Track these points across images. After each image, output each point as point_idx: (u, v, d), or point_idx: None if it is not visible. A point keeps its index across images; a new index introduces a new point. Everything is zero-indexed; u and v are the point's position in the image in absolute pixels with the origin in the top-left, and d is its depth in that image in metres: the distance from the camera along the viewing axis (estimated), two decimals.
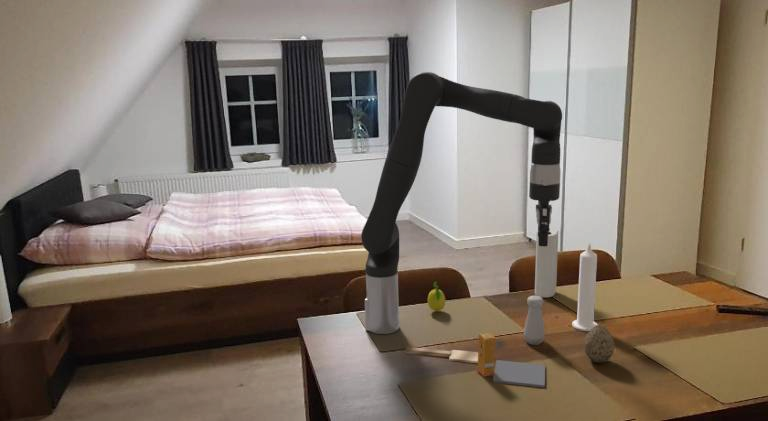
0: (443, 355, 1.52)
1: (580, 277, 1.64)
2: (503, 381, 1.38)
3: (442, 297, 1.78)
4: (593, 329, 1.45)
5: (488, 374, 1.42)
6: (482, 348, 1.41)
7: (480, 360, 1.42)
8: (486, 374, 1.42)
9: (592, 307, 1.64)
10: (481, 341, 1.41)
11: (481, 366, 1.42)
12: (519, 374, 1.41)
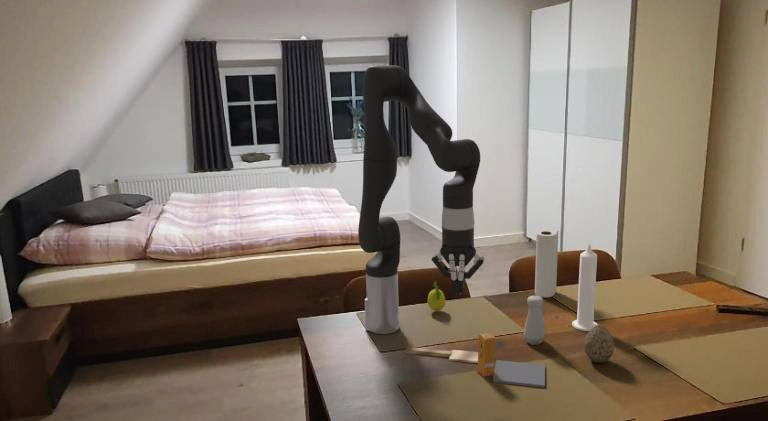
0: (443, 355, 1.52)
1: (580, 277, 1.64)
2: (503, 381, 1.38)
3: (442, 297, 1.78)
4: (593, 329, 1.45)
5: (488, 374, 1.42)
6: (482, 348, 1.41)
7: (480, 360, 1.42)
8: (486, 374, 1.42)
9: (592, 307, 1.64)
10: (481, 341, 1.41)
11: (481, 366, 1.42)
12: (519, 374, 1.41)
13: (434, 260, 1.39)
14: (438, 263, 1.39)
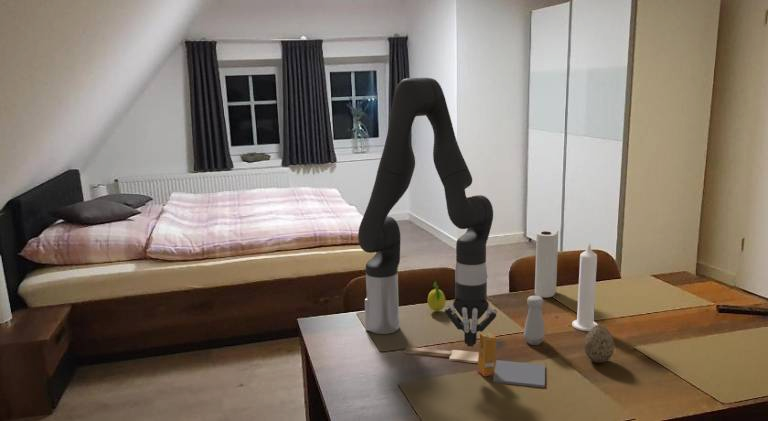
0: (443, 355, 1.52)
1: (580, 277, 1.64)
2: (503, 381, 1.38)
3: (442, 297, 1.78)
4: (593, 329, 1.45)
5: (488, 374, 1.42)
6: (483, 347, 1.41)
7: (480, 360, 1.42)
8: (486, 374, 1.42)
9: (592, 307, 1.64)
10: (482, 341, 1.41)
11: (481, 366, 1.42)
12: (519, 374, 1.41)
13: (447, 313, 1.41)
14: (451, 316, 1.41)
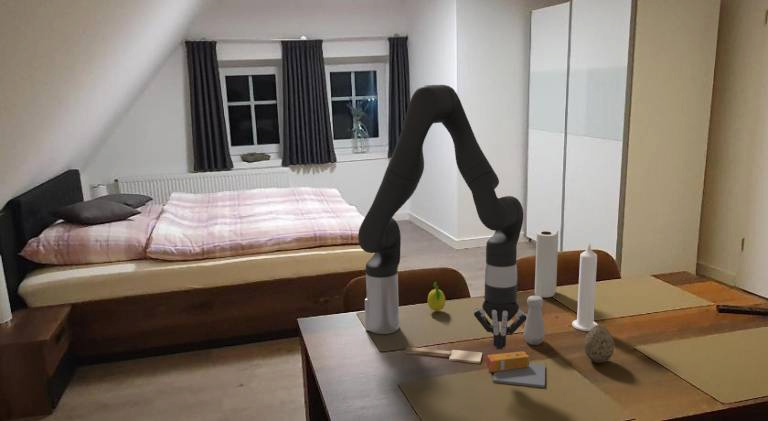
0: (443, 355, 1.52)
1: (580, 277, 1.64)
2: (503, 381, 1.38)
3: (442, 297, 1.78)
4: (593, 329, 1.45)
5: (493, 366, 1.42)
6: (517, 355, 1.44)
7: (503, 356, 1.44)
8: (493, 364, 1.42)
9: (592, 307, 1.64)
10: (521, 354, 1.45)
11: (498, 357, 1.43)
12: (519, 374, 1.41)
13: (476, 315, 1.39)
14: (480, 318, 1.39)
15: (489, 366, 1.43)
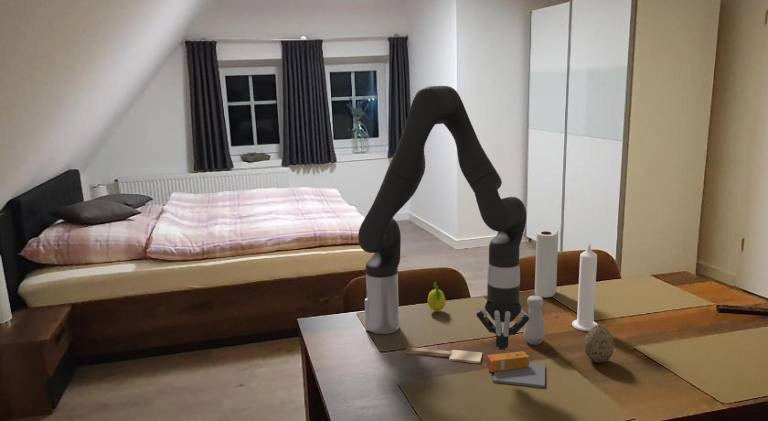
0: (443, 355, 1.52)
1: (580, 277, 1.64)
2: (503, 381, 1.38)
3: (442, 297, 1.78)
4: (593, 329, 1.45)
5: (493, 366, 1.42)
6: (517, 355, 1.44)
7: (503, 356, 1.44)
8: (493, 364, 1.42)
9: (592, 307, 1.64)
10: (521, 354, 1.45)
11: (498, 357, 1.43)
12: (519, 374, 1.41)
13: (479, 316, 1.39)
14: (483, 319, 1.39)
15: (489, 366, 1.43)
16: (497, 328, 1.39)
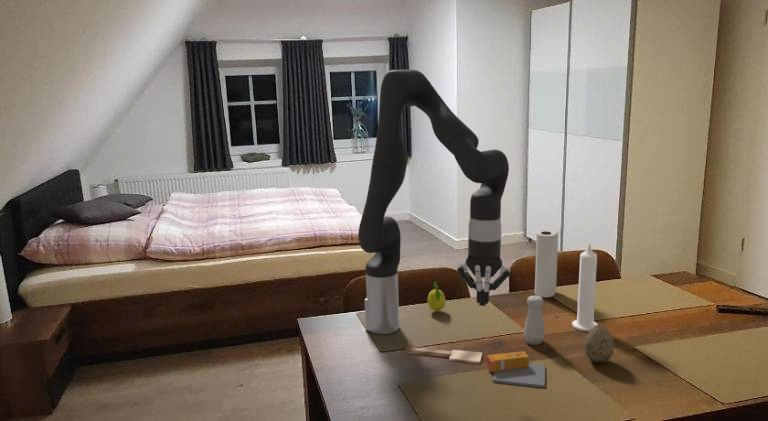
0: (443, 355, 1.52)
1: (580, 277, 1.64)
2: (503, 381, 1.38)
3: (442, 297, 1.78)
4: (593, 329, 1.45)
5: (493, 366, 1.42)
6: (517, 355, 1.44)
7: (503, 356, 1.44)
8: (493, 364, 1.42)
9: (592, 307, 1.64)
10: (521, 354, 1.45)
11: (498, 357, 1.43)
12: (519, 374, 1.41)
13: (459, 271, 1.38)
14: (463, 274, 1.38)
15: (489, 366, 1.43)
16: (478, 283, 1.37)
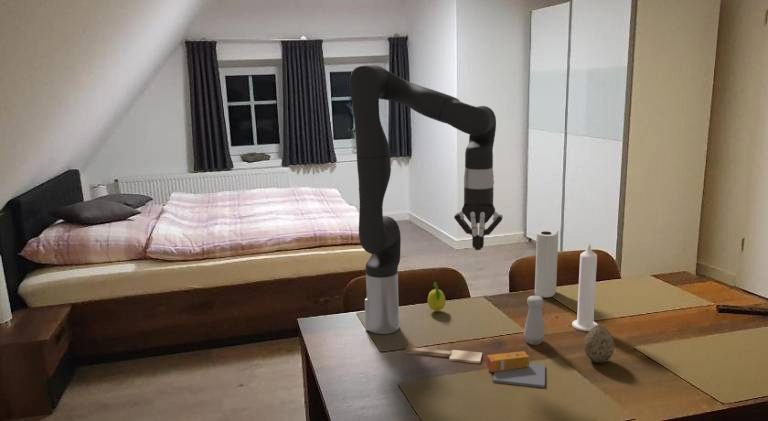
0: (443, 355, 1.52)
1: (580, 277, 1.64)
2: (503, 381, 1.38)
3: (442, 297, 1.78)
4: (593, 329, 1.45)
5: (493, 366, 1.42)
6: (517, 355, 1.44)
7: (503, 356, 1.44)
8: (493, 364, 1.42)
9: (592, 307, 1.64)
10: (521, 354, 1.45)
11: (498, 357, 1.43)
12: (519, 374, 1.41)
13: (456, 218, 1.52)
14: (460, 221, 1.52)
15: (489, 366, 1.43)
16: (473, 229, 1.51)
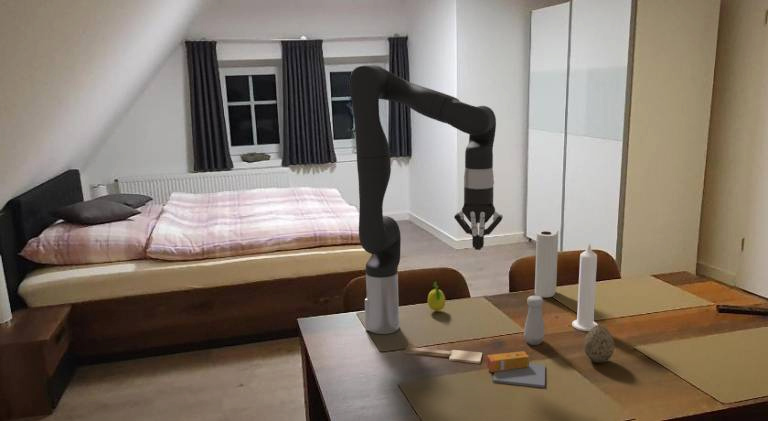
0: (443, 355, 1.52)
1: (580, 277, 1.64)
2: (503, 381, 1.38)
3: (442, 297, 1.78)
4: (593, 329, 1.45)
5: (493, 366, 1.42)
6: (517, 355, 1.44)
7: (503, 356, 1.44)
8: (493, 364, 1.42)
9: (592, 307, 1.64)
10: (521, 354, 1.45)
11: (498, 357, 1.43)
12: (519, 374, 1.41)
13: (456, 218, 1.52)
14: (460, 220, 1.52)
15: (489, 366, 1.43)
16: (473, 229, 1.51)
